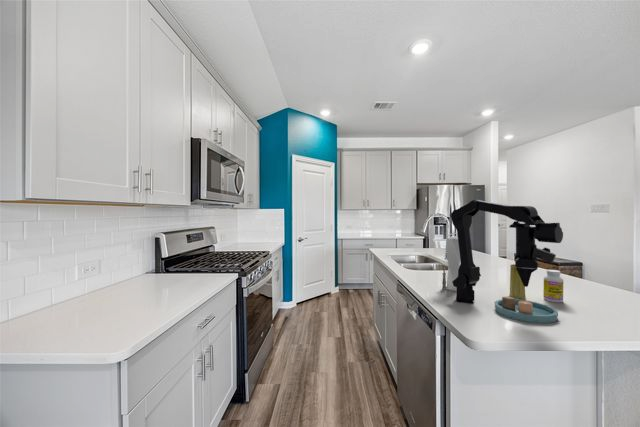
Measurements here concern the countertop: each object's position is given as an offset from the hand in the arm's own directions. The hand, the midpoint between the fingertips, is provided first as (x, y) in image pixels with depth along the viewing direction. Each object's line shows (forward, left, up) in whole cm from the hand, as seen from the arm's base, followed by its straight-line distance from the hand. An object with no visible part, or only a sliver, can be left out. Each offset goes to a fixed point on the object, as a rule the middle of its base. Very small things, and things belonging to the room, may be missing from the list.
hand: (525, 283), depth 106 cm
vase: (+3, +28, -13) cm, 31 cm away
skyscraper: (-23, +32, -13) cm, 42 cm away
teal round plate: (+1, +5, -12) cm, 14 cm away
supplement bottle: (+16, +28, -13) cm, 35 cm away
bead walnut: (-4, +4, -12) cm, 13 cm away
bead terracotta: (0, 0, -12) cm, 12 cm away
